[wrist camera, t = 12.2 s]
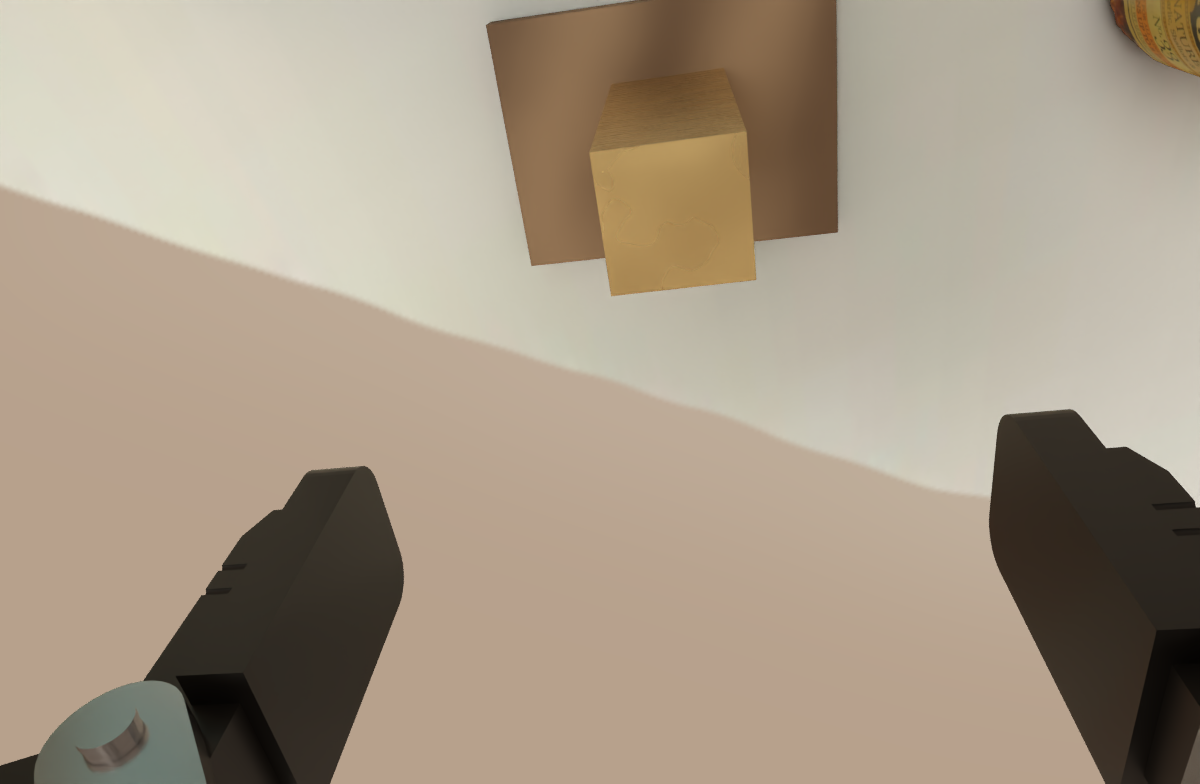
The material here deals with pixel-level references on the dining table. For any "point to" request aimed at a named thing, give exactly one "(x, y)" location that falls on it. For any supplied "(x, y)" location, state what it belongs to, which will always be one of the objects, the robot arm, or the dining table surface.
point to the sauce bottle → (1163, 30)
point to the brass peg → (673, 184)
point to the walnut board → (656, 49)
